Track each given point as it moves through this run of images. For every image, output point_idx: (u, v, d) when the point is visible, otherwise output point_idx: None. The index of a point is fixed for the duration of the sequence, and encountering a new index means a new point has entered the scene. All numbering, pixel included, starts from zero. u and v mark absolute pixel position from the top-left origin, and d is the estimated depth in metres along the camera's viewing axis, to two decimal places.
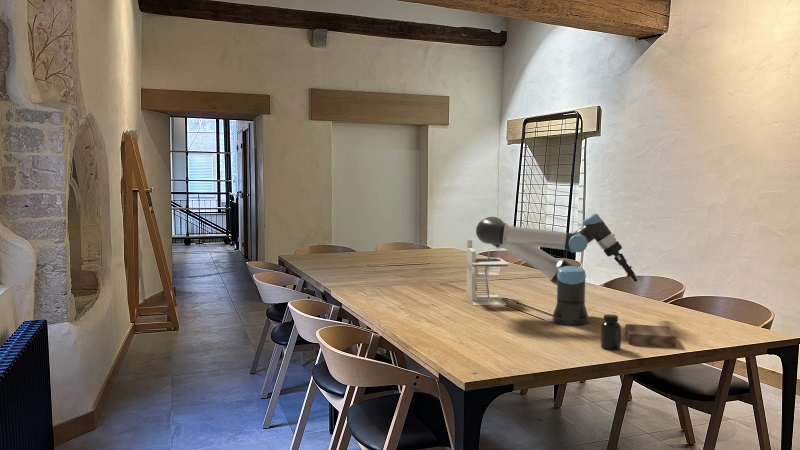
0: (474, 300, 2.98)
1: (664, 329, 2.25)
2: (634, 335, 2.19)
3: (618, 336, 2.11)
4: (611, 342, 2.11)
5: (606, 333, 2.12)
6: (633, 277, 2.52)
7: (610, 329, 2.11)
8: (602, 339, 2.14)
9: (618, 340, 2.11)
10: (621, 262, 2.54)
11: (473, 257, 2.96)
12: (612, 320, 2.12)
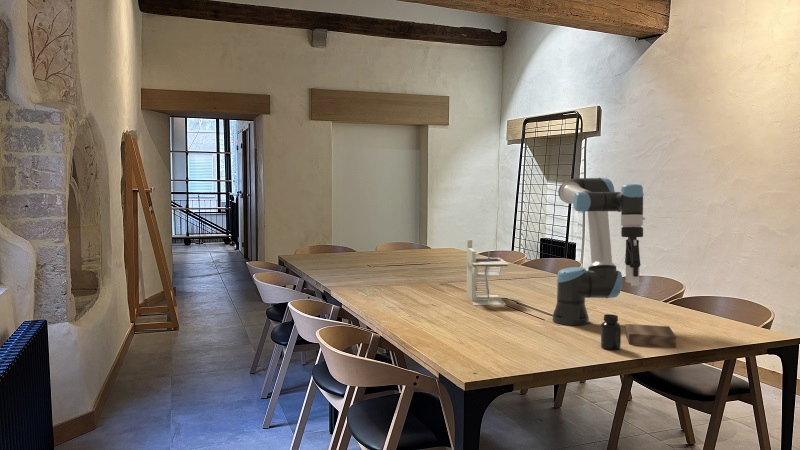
0: (474, 300, 2.98)
1: (664, 329, 2.25)
2: (634, 335, 2.19)
3: (618, 336, 2.11)
4: (611, 342, 2.11)
5: (606, 333, 2.12)
6: (635, 271, 2.08)
7: (610, 329, 2.11)
8: (602, 339, 2.14)
9: (618, 340, 2.11)
10: (634, 248, 2.09)
11: (473, 257, 2.96)
12: (612, 320, 2.12)
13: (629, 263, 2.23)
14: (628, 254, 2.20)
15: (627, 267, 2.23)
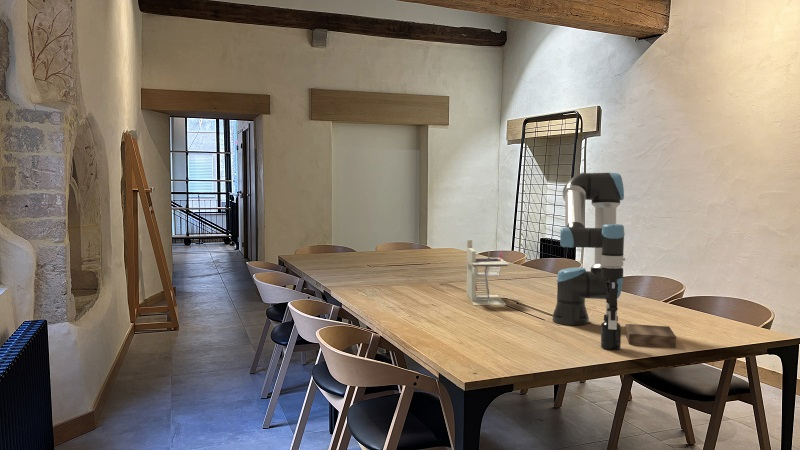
0: (474, 300, 2.98)
1: (664, 329, 2.25)
2: (634, 335, 2.19)
3: (618, 336, 2.11)
4: (611, 342, 2.11)
5: (606, 333, 2.12)
6: (612, 314, 2.05)
7: (610, 329, 2.11)
8: (602, 339, 2.14)
9: (618, 340, 2.11)
10: (612, 292, 2.06)
11: (473, 257, 2.96)
12: None
13: None
14: None
15: (607, 306, 2.20)
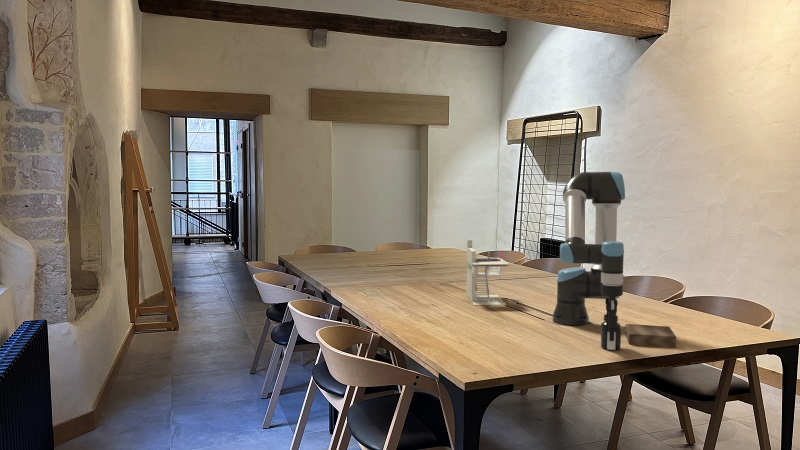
0: (474, 300, 2.98)
1: (664, 329, 2.25)
2: (634, 335, 2.19)
3: (618, 336, 2.11)
4: None
5: (606, 333, 2.12)
6: (611, 335, 2.09)
7: None
8: (602, 339, 2.14)
9: (618, 340, 2.11)
10: (611, 313, 2.08)
11: (473, 257, 2.96)
12: None
13: None
14: (608, 312, 2.16)
15: None
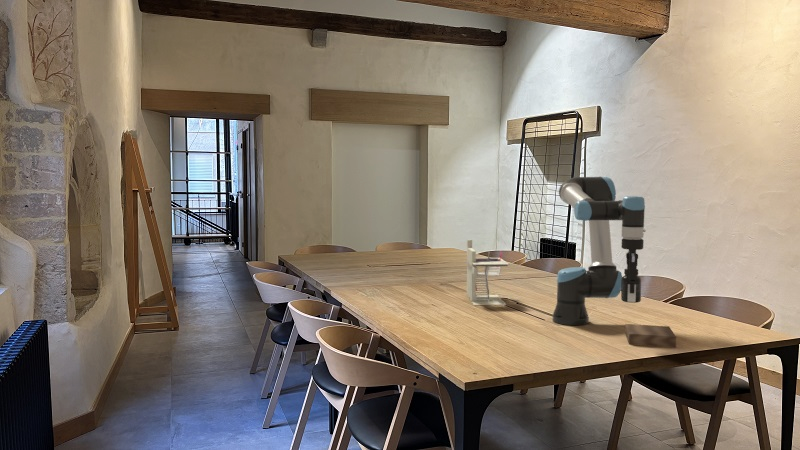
0: (474, 300, 2.98)
1: (664, 329, 2.25)
2: (634, 335, 2.19)
3: (638, 289, 2.15)
4: None
5: (626, 286, 2.16)
6: (631, 288, 2.13)
7: None
8: (622, 292, 2.18)
9: (638, 293, 2.15)
10: (631, 265, 2.12)
11: (473, 257, 2.96)
12: None
13: None
14: (629, 267, 2.20)
15: None
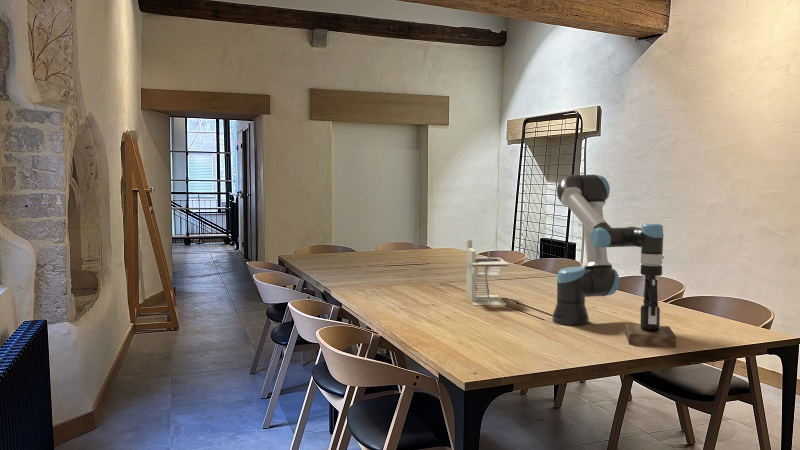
0: (474, 300, 2.98)
1: (664, 329, 2.25)
2: (634, 335, 2.19)
3: (658, 318, 2.22)
4: (651, 324, 2.21)
5: (646, 315, 2.22)
6: (653, 310, 2.16)
7: None
8: (642, 321, 2.24)
9: (658, 322, 2.22)
10: (652, 288, 2.16)
11: (473, 257, 2.96)
12: None
13: (648, 297, 2.31)
14: (647, 290, 2.27)
15: None
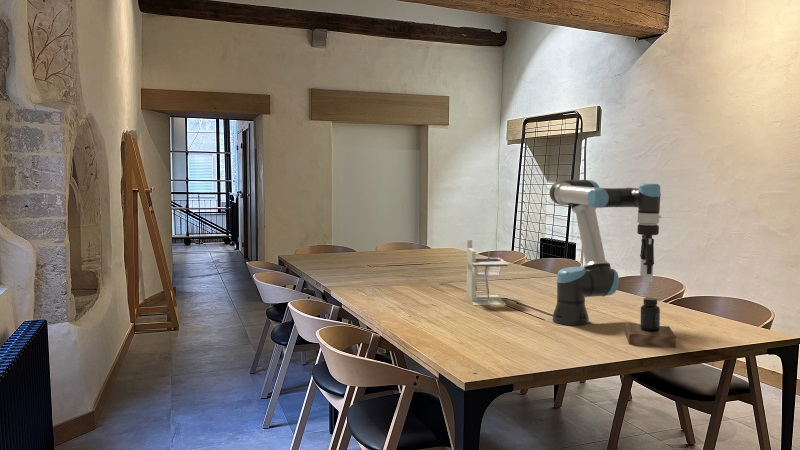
0: (474, 300, 2.98)
1: (664, 329, 2.25)
2: (634, 335, 2.19)
3: (658, 318, 2.22)
4: (651, 324, 2.21)
5: (646, 315, 2.22)
6: (649, 268, 2.17)
7: (650, 311, 2.21)
8: (642, 321, 2.24)
9: (658, 322, 2.22)
10: (648, 247, 2.18)
11: (473, 257, 2.96)
12: (652, 303, 2.22)
13: (644, 257, 2.32)
14: (643, 249, 2.29)
15: (642, 261, 2.32)
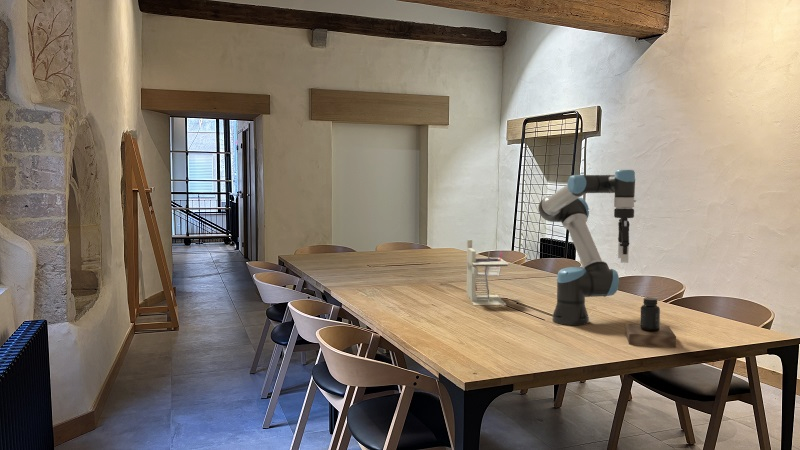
0: (474, 300, 2.98)
1: (664, 329, 2.25)
2: (634, 335, 2.19)
3: (658, 318, 2.22)
4: (651, 324, 2.21)
5: (646, 315, 2.22)
6: (624, 249, 2.30)
7: (650, 311, 2.21)
8: (642, 321, 2.24)
9: (658, 322, 2.22)
10: (624, 229, 2.31)
11: (473, 257, 2.96)
12: (652, 303, 2.22)
13: (621, 240, 2.45)
14: (620, 233, 2.42)
15: (619, 244, 2.45)
